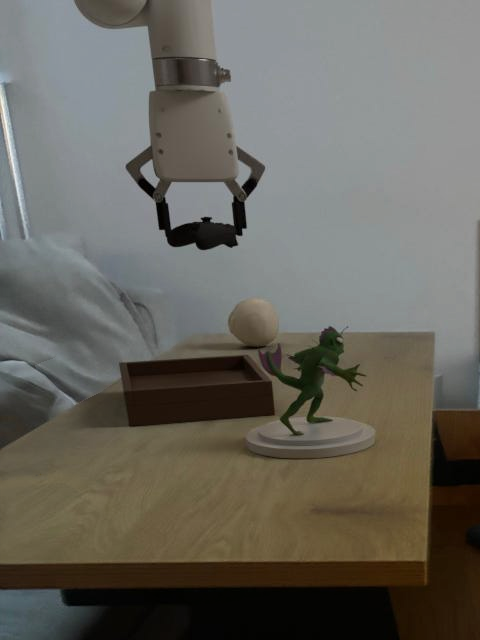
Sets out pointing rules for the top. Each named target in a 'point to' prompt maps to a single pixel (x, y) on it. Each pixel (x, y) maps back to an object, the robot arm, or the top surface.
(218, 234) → the gaming controller
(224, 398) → the tray
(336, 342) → the monster figurine
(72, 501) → the top surface
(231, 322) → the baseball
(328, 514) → the top surface
